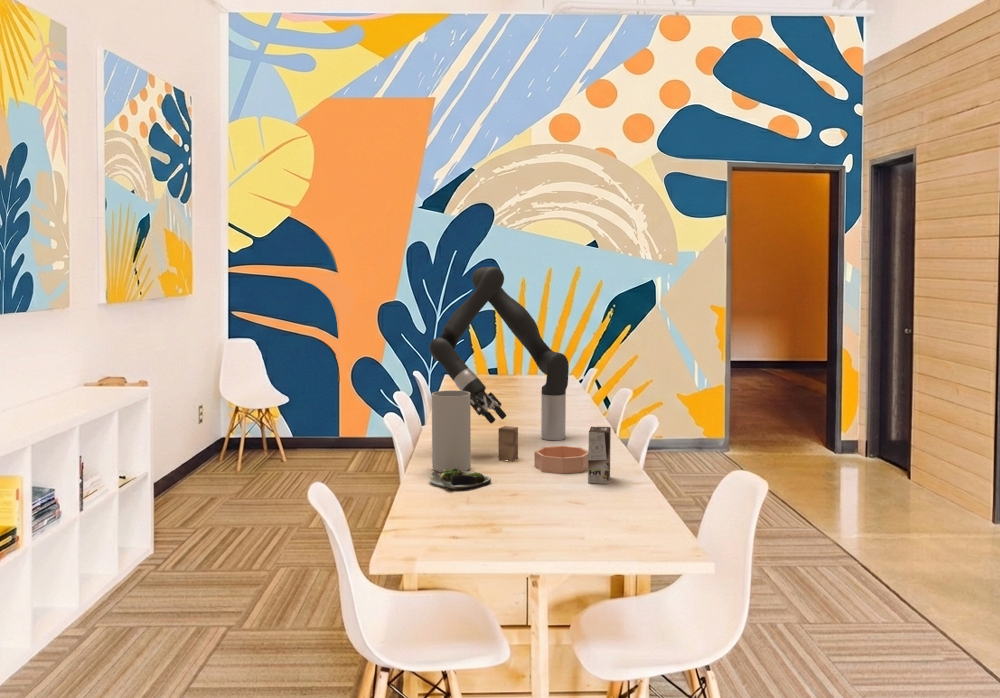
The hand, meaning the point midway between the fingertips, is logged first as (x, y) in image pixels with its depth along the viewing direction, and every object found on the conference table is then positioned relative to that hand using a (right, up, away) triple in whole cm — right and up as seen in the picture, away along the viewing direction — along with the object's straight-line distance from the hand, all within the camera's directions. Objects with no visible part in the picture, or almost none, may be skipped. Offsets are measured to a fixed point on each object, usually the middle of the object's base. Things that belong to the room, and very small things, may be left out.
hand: (499, 419), depth 284 cm
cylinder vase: (-16, -15, -13) cm, 25 cm away
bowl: (+21, -15, -10) cm, 28 cm away
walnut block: (+3, -14, 0) cm, 14 cm away
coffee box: (+31, -17, -27) cm, 44 cm away
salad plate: (-12, -17, -30) cm, 37 cm away
